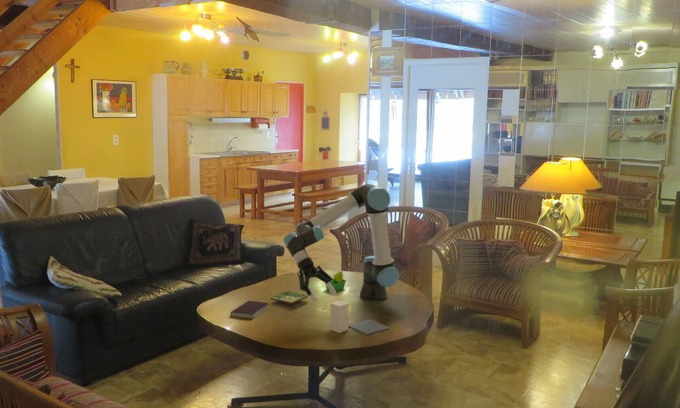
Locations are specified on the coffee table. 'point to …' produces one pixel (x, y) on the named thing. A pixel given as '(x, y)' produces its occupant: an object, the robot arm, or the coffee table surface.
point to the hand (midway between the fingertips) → (324, 297)
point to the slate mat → (368, 327)
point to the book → (250, 309)
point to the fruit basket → (338, 281)
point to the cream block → (339, 316)
